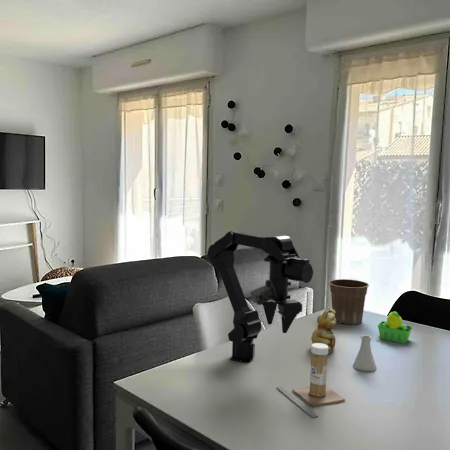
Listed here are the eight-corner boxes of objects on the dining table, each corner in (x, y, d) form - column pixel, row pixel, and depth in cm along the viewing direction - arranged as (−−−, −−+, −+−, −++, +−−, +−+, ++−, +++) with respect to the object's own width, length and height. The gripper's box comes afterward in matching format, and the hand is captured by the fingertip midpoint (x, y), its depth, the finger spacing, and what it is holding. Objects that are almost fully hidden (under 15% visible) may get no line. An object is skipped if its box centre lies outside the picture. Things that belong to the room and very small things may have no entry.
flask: (377, 373, 146) (379, 341, 145) (353, 371, 148) (354, 339, 147) (375, 364, 153) (376, 334, 153) (351, 362, 155) (353, 332, 154)
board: (292, 391, 132) (292, 389, 132) (323, 386, 136) (323, 384, 136) (312, 407, 123) (312, 405, 123) (344, 401, 127) (345, 399, 127)
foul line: (276, 388, 134) (276, 387, 134) (281, 387, 134) (281, 386, 134) (312, 418, 117) (312, 416, 117) (317, 417, 118) (317, 415, 118)
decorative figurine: (333, 355, 160) (335, 311, 159) (308, 352, 163) (310, 309, 161) (336, 346, 169) (338, 305, 168) (313, 343, 172) (314, 302, 171)
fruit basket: (412, 339, 180) (414, 309, 179) (407, 346, 172) (409, 315, 171) (381, 333, 186) (383, 305, 185) (375, 339, 178) (376, 309, 177)
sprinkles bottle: (305, 393, 129) (307, 345, 128) (314, 388, 133) (316, 341, 131) (321, 399, 126) (323, 349, 125) (329, 393, 130) (331, 345, 128)
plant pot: (345, 328, 192) (347, 288, 190) (319, 317, 206) (320, 280, 204) (375, 323, 199) (377, 285, 198) (348, 313, 213) (350, 278, 212)
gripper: (241, 273, 150) (239, 322, 151) (269, 285, 132) (267, 340, 134) (272, 271, 154) (271, 319, 155) (304, 283, 137) (302, 336, 138)
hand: (276, 328), depth 146 cm, fingers open, 9 cm apart
